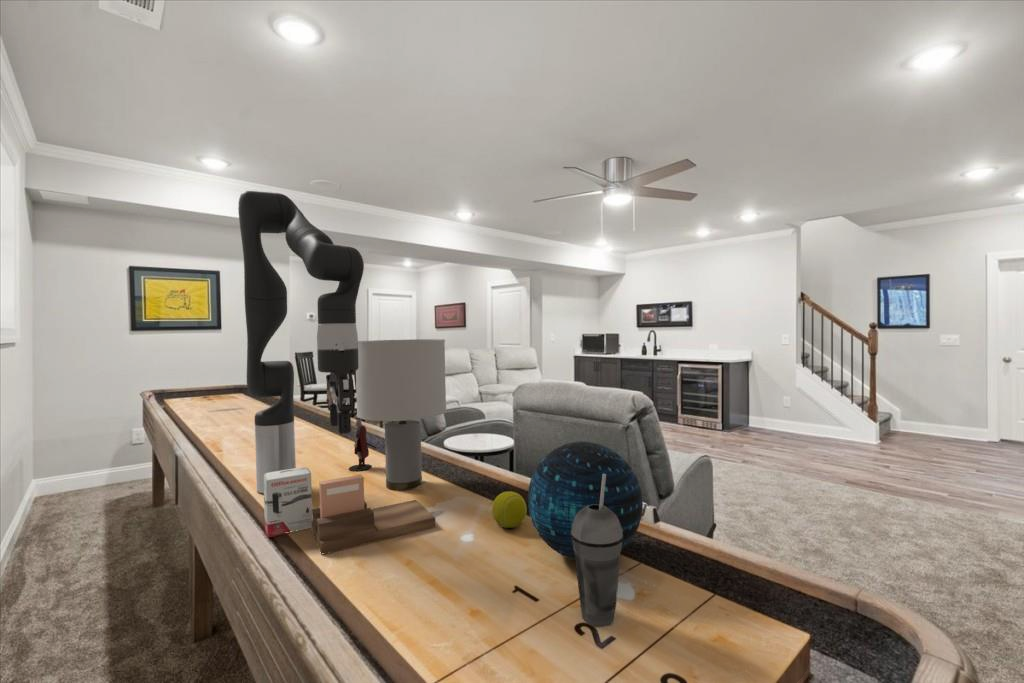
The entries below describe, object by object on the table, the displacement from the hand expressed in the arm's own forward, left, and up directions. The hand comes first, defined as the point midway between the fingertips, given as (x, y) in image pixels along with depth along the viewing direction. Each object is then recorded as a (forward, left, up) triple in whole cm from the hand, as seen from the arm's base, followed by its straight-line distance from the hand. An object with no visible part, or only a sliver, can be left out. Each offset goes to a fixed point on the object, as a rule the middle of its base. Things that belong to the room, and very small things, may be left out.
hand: (340, 429), depth 93 cm
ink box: (-10, -9, -22) cm, 25 cm away
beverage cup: (+47, +25, -22) cm, 57 cm away
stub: (0, 0, -19) cm, 19 cm away
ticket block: (0, +6, -21) cm, 22 cm away
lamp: (-24, +20, -22) cm, 38 cm away
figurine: (-46, +14, -22) cm, 53 cm away
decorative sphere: (+32, +35, -22) cm, 52 cm away
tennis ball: (+14, +30, -22) cm, 39 cm away
